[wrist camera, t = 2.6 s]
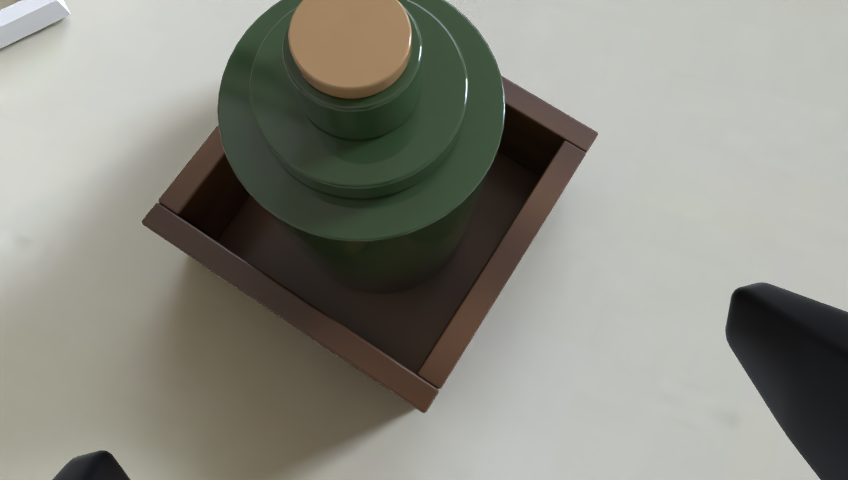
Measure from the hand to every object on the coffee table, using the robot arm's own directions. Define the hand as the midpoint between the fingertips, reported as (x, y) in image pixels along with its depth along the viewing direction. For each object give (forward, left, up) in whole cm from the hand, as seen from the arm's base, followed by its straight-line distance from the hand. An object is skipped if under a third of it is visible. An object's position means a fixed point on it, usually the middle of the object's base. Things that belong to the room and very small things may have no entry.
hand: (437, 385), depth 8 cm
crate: (+4, +5, -12) cm, 14 cm away
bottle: (+4, +5, -12) cm, 13 cm away
